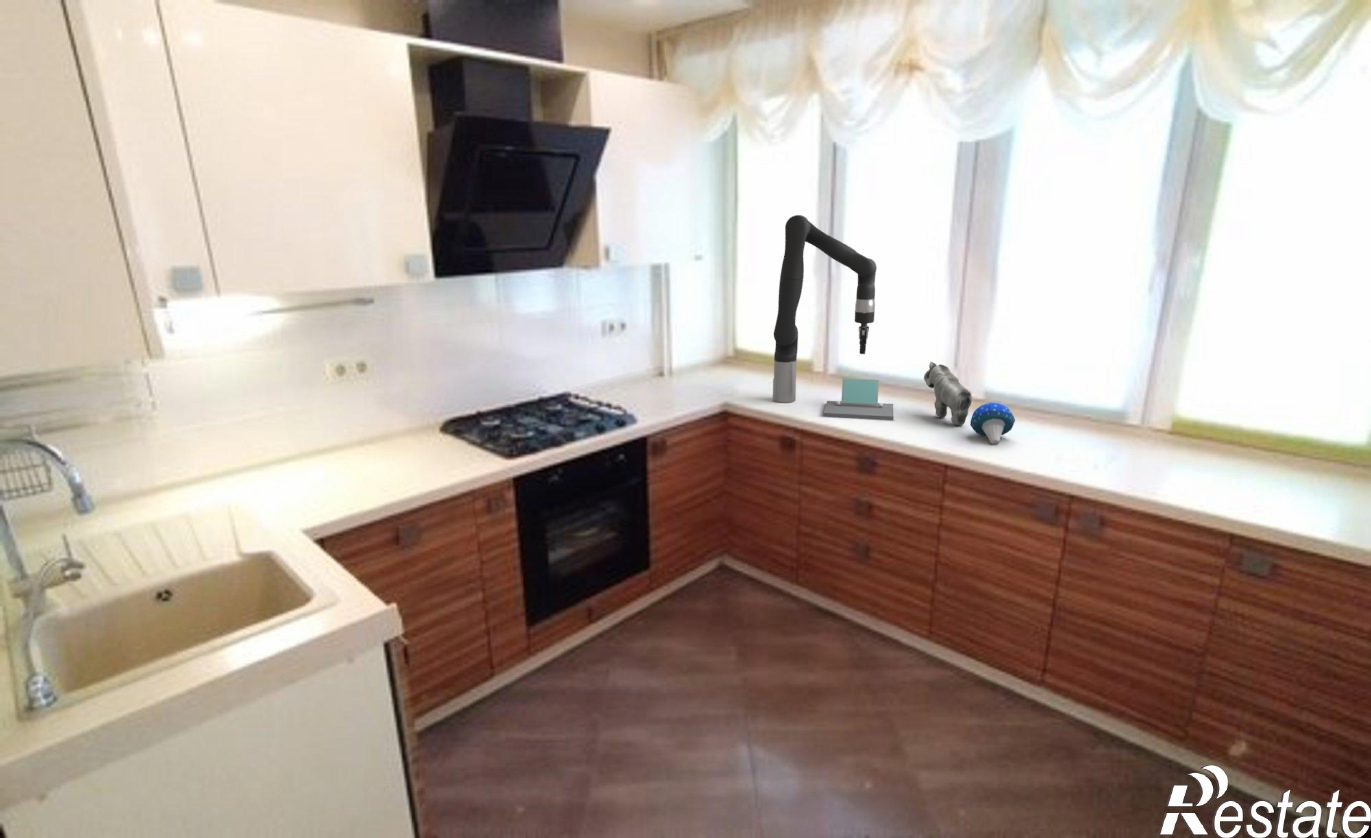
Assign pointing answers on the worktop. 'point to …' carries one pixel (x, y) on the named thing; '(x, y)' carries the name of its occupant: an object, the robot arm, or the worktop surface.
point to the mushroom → (992, 421)
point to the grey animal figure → (948, 393)
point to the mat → (859, 411)
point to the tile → (860, 391)
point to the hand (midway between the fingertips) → (862, 352)
